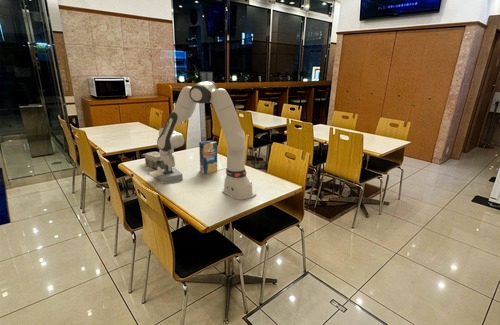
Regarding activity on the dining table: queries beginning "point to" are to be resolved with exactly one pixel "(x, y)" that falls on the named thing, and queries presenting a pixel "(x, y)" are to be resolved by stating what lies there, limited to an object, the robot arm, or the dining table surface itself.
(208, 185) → the dining table surface
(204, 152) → the blue cracker box
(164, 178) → the socket
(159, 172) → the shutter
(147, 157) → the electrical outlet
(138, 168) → the dining table surface
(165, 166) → the plug
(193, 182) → the dining table surface
